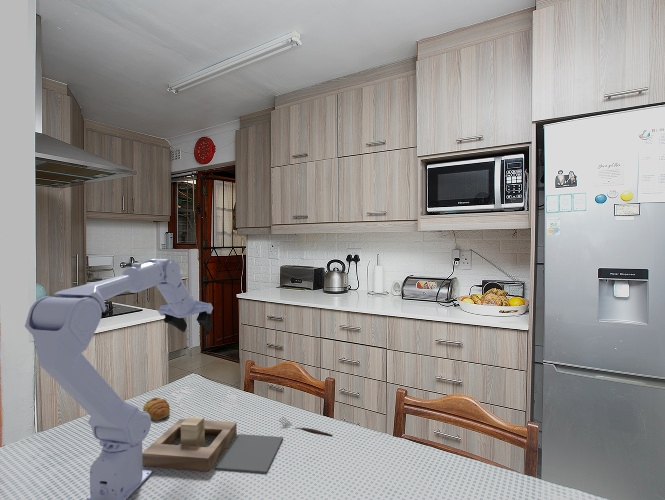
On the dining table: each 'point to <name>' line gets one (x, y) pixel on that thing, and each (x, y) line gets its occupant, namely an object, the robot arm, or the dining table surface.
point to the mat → (250, 453)
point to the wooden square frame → (189, 448)
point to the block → (193, 432)
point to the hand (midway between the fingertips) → (197, 328)
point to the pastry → (157, 408)
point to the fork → (304, 428)
